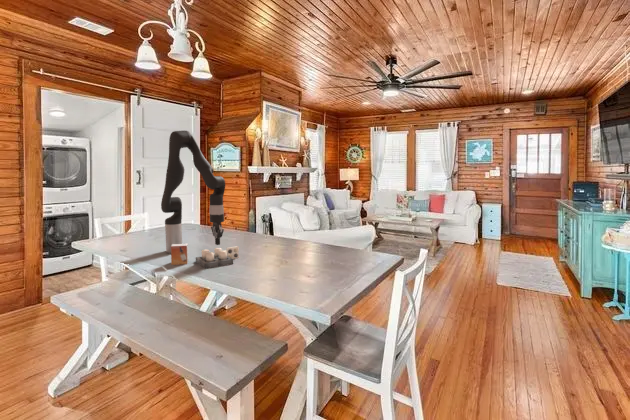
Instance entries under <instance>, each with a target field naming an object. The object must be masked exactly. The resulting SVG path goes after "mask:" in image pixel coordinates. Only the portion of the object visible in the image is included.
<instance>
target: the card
mask: <svg viewBox="0 0 630 420" xmlns="http://www.w3.org/2000/svg"><path fill="white" fill-rule="evenodd" d="M239 248H240V247H239V246H231V247H226V249H225V251H227V256H228V257H230V258H232V259H233V260H234V259H240V254H239V253H240V250H239Z"/></svg>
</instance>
